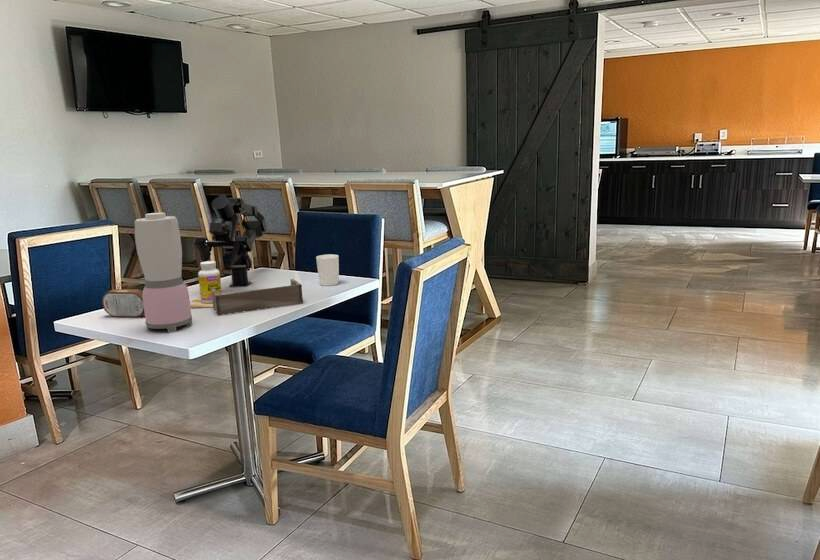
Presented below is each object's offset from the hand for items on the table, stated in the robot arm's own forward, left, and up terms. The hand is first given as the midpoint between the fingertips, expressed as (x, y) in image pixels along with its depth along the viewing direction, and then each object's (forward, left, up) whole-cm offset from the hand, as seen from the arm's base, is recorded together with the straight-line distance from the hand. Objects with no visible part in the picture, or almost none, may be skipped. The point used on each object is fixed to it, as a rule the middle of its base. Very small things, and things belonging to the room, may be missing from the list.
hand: (217, 265), depth 207 cm
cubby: (+14, +16, -11) cm, 24 cm away
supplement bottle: (+7, 0, -11) cm, 13 cm away
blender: (+34, -5, -11) cm, 36 cm away
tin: (+22, -22, -11) cm, 33 cm away
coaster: (+8, -1, -11) cm, 13 cm away
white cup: (-14, +34, -11) cm, 39 cm away
